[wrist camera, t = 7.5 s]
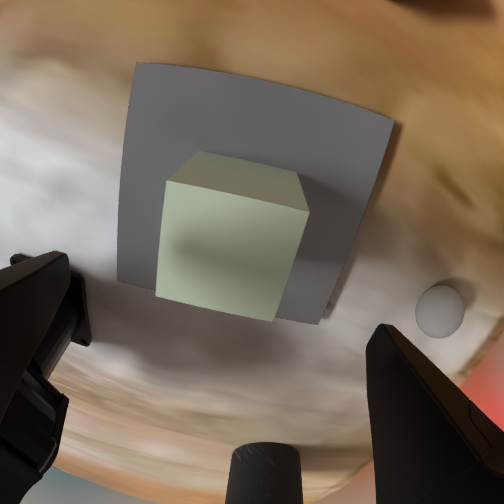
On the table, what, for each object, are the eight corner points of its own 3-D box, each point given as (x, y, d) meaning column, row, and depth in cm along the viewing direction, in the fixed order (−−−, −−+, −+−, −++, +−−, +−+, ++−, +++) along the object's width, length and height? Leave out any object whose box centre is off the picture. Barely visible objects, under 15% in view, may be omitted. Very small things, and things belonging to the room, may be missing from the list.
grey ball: (436, 318, 19) (454, 350, 16) (400, 312, 19) (416, 347, 16) (459, 280, 17) (481, 310, 14) (422, 270, 17) (444, 302, 14)
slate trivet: (316, 316, 19) (317, 324, 18) (122, 273, 18) (117, 280, 18) (388, 118, 13) (394, 120, 13) (142, 63, 13) (136, 62, 12)
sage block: (272, 256, 16) (272, 322, 12) (185, 237, 16) (155, 296, 12) (296, 172, 14) (309, 212, 10) (199, 150, 14) (166, 180, 9)
